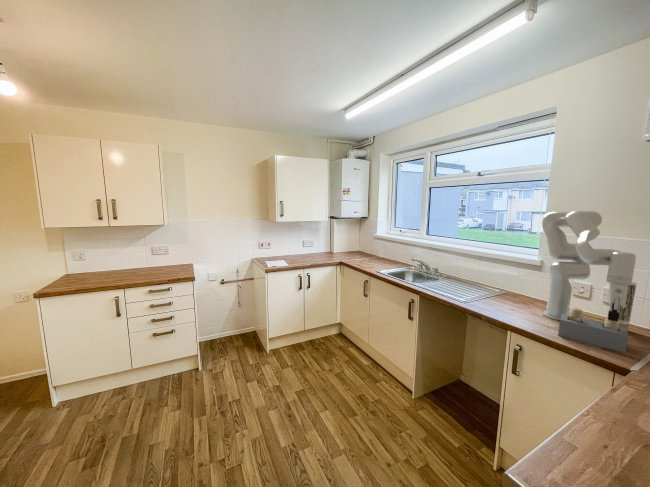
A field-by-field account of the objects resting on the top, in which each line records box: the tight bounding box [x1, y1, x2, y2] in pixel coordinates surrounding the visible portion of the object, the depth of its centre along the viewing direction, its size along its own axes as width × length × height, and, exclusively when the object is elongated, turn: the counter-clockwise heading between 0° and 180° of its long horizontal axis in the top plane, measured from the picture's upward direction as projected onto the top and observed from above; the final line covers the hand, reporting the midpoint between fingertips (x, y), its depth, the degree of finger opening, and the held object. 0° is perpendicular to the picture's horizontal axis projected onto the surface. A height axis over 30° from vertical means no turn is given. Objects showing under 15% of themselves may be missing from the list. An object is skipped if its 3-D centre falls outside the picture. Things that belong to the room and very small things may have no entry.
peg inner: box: [568, 307, 583, 322], centre depth 130 cm, size 4×4×7 cm
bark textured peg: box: [618, 281, 637, 332], centre depth 138 cm, size 7×7×25 cm
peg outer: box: [604, 317, 619, 331], centre depth 122 cm, size 4×4×7 cm
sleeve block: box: [557, 314, 629, 354], centre depth 127 cm, size 22×11×8 cm, turn 46°
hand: (612, 319), depth 122 cm, fingers closed
